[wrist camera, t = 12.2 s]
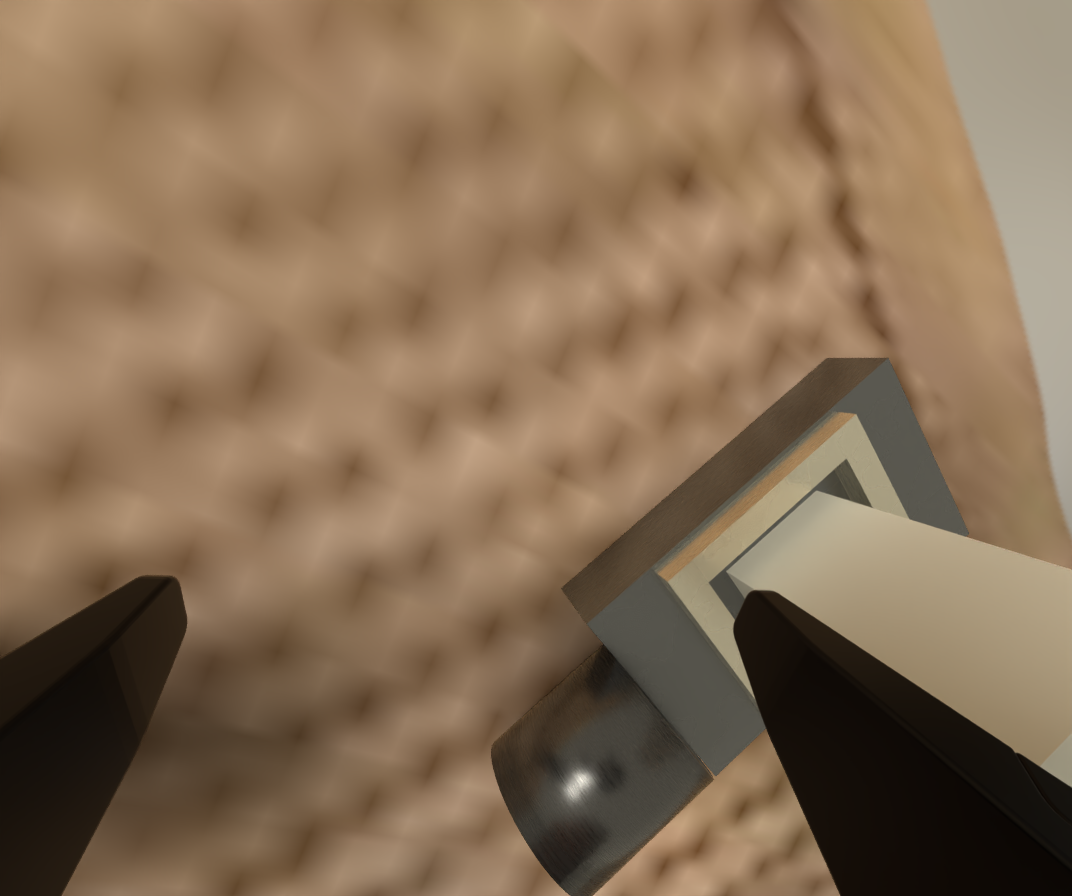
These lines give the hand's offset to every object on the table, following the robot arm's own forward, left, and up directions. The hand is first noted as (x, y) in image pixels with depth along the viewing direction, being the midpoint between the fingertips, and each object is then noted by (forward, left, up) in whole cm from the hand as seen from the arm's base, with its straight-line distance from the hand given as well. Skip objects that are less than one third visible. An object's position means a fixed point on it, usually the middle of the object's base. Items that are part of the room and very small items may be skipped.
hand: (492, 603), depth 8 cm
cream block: (+8, -13, -9) cm, 17 cm away
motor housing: (+6, -13, -12) cm, 18 cm away
